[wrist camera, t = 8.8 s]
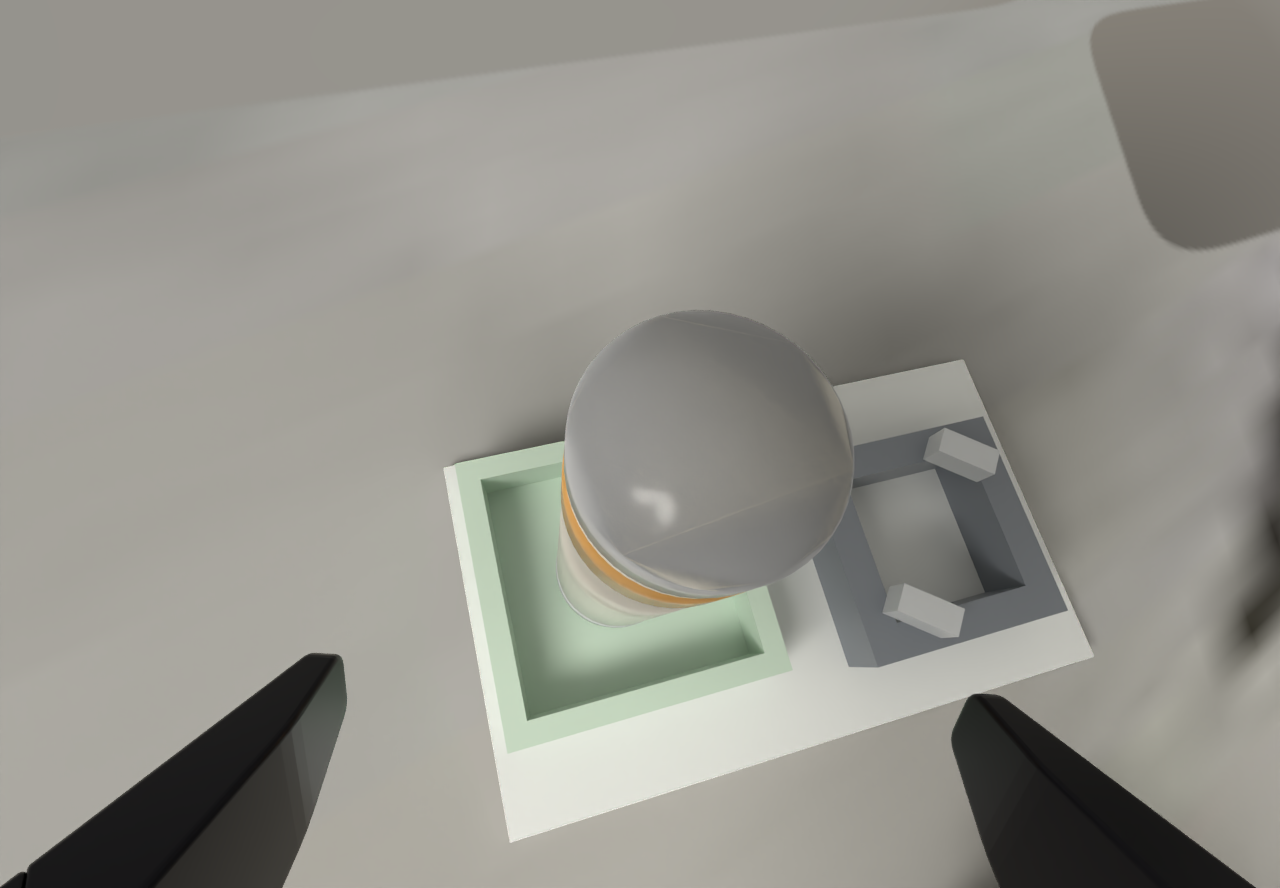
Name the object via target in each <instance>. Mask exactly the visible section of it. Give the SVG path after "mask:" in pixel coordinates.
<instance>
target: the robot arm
mask: <svg viewBox="0 0 1280 888" xmlns="http://www.w3.org/2000/svg"><path fill="white" fill-rule="evenodd" d="M346 706H347V693H346V683H345V673H344V664H343V660H342V658H341V656H339V655H337V654H325V653H310V654H308V655H306V656H304V657H303V658H301V659H300V660H299V661H297V662H296V663H295V664H294V665H292V666H291V667H290V668H288V669H287V670H286V671H284V672H283V673H282V674H280V675H279V676H278V677H276V678H275V679H274V680H272V681H271V682H270V683H269V684H267V685H266V686H265V687H263V688H262V689H261V690H259V691H258V692H257V693H255V694H254V695H253V696H251V697H250V698H249V699H247V700H246V701H245V702H243V703H242V704H241V705H240V706H238V707H237V708H236V709H234V710H233V711H232V712H230V713H229V714H228V715H226V716H225V717H224V718H222V719H221V720H220V721H218V722H217V723H216V724H215V725H213V726H212V727H211V728H209V729H208V730H207V731H205V732H204V733H203V734H201V735H200V736H199V737H197V738H196V739H195V740H193V741H192V742H191V743H189V744H188V745H187V746H186V747H184V748H183V749H182V750H180V751H179V752H178V753H176V754H175V755H174V756H172V757H171V758H170V759H168V760H167V761H166V762H164V763H163V764H162V765H161V766H159V767H158V768H157V769H155V770H154V771H153V772H151V773H150V774H149V775H147V776H146V777H145V778H143V779H142V780H141V781H139V782H138V783H137V784H135V785H134V786H133V787H132V788H130V789H129V790H128V791H126V792H125V793H124V794H122V795H121V796H120V797H118V798H117V799H116V800H114V801H113V802H112V803H110V804H109V805H108V806H107V807H105V808H104V809H103V810H101V811H100V812H99V813H97V814H96V815H95V816H93V817H92V818H91V819H89V820H88V821H87V822H85V823H84V824H83V825H81V826H80V827H79V828H78V829H76V830H75V831H74V832H72V833H71V834H70V835H68V836H67V837H66V838H64V839H63V840H62V841H60V842H59V843H58V844H56V845H55V846H54V847H53V848H51V849H50V850H49V851H47V852H46V853H45V854H43V855H42V856H41V857H39V858H38V859H37V860H35V861H34V862H33V863H31V864H30V865H29V867H28V869H27V873H26V872H20V873H18V874H17V875H15V876H14V877H13V878H11V879H10V880H9V881H7V882H6V883H5V884H3V885H2V886H1V887H0V888H282V887H283V885H284V883H285V880H286V878H287V876H288V874H289V871H290V869H291V867H292V864H293V862H294V860H295V858H296V855H297V853H298V851H299V849H300V846H301V844H302V841H303V839H304V836H305V834H306V832H307V829H308V826H309V823H310V820H311V817H312V814H313V812H314V808H315V805H316V802H317V799H318V796H319V793H320V790H321V787H322V784H323V781H324V778H325V774H326V771H327V768H328V765H329V762H330V759H331V756H332V753H333V750H334V747H335V744H336V740H337V737H338V734H339V731H340V728H341V725H342V722H343V719H344V715H345V711H346ZM951 742H952V748H953V752H954V755H955V759H956V762H957V765H958V768H959V771H960V774H961V777H962V781H963V784H964V787H965V790H966V793H967V796H968V799H969V803H970V806H971V809H972V812H973V815H974V818H975V822H976V825H977V828H978V831H979V834H980V837H981V840H982V843H983V846H984V849H985V852H986V855H987V857H988V860H989V862H990V865H991V867H992V870H993V872H994V875H995V877H996V880H997V882H998V885H999V887H1000V888H1256V887H1254V886H1253V885H1252V884H1250V883H1249V882H1248V881H1246V880H1245V879H1244V878H1242V877H1241V876H1240V875H1238V874H1237V873H1236V872H1234V871H1233V870H1232V869H1230V868H1229V867H1228V866H1226V865H1225V864H1224V863H1222V862H1221V861H1220V860H1218V859H1217V858H1216V857H1214V856H1213V855H1212V854H1210V853H1209V852H1208V851H1206V850H1205V849H1204V848H1203V847H1201V846H1200V845H1199V844H1197V843H1196V842H1195V841H1193V840H1192V839H1191V838H1189V837H1188V836H1187V835H1185V834H1184V833H1183V832H1181V831H1180V830H1179V829H1177V828H1176V827H1175V826H1173V825H1172V824H1171V823H1169V822H1168V821H1167V820H1165V819H1164V818H1163V817H1161V816H1160V815H1159V814H1157V813H1156V812H1155V811H1153V810H1152V809H1151V808H1150V807H1148V806H1147V805H1146V804H1144V803H1143V802H1142V801H1140V800H1139V799H1138V798H1136V797H1135V796H1134V795H1132V794H1131V793H1130V792H1128V791H1127V790H1126V789H1124V788H1123V787H1122V786H1120V785H1119V784H1118V783H1116V782H1115V781H1114V780H1112V779H1111V778H1110V777H1108V776H1107V775H1106V774H1104V773H1103V772H1102V771H1100V770H1099V769H1098V768H1097V767H1095V766H1094V765H1093V764H1091V763H1090V762H1089V761H1087V760H1086V759H1085V758H1083V757H1082V756H1081V755H1079V754H1078V753H1077V752H1075V751H1074V750H1073V749H1071V748H1070V747H1069V746H1067V745H1066V744H1065V743H1063V742H1062V741H1061V740H1059V739H1058V738H1057V737H1055V736H1054V735H1053V734H1051V733H1050V732H1049V731H1047V730H1046V729H1045V728H1044V727H1042V726H1041V725H1040V724H1038V723H1037V722H1036V721H1034V720H1033V719H1032V718H1030V717H1029V716H1028V715H1026V714H1025V713H1024V712H1022V711H1021V710H1020V709H1018V708H1017V707H1016V706H1014V705H1013V704H1012V703H1010V702H1009V701H1008V700H1006V699H1005V698H1003V697H1001V696H999V695H991V694H972V695H971V696H970V697H968V699H967V700H966V703H965V705H964V707H963V709H962V711H961V713H960V716H959V718H958V720H957V722H956V724H955V726H954V728H953V731H952V737H951Z"/></svg>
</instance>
